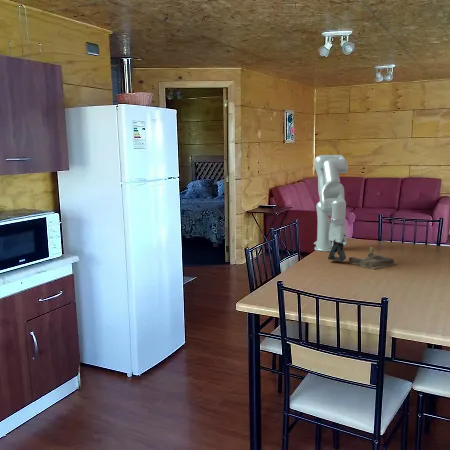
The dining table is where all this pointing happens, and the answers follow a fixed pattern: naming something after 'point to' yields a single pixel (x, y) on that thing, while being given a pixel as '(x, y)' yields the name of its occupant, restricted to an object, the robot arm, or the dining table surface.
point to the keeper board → (373, 261)
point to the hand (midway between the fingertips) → (337, 252)
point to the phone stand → (341, 253)
